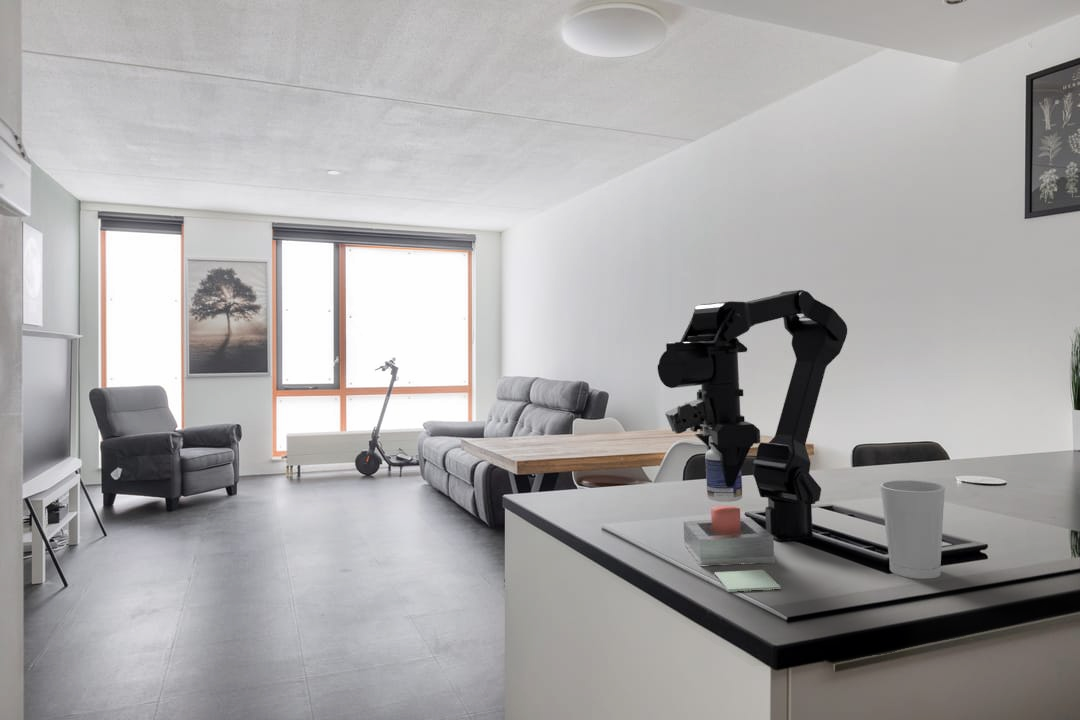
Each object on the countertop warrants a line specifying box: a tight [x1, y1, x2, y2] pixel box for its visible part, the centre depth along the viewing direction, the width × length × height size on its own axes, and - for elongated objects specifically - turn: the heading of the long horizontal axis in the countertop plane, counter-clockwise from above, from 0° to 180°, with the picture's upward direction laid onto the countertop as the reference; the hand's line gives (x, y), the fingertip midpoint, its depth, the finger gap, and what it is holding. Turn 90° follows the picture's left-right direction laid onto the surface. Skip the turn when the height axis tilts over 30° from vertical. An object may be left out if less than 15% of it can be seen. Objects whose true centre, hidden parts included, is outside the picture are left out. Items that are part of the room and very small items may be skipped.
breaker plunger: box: [710, 505, 741, 534], centre depth 110 cm, size 4×4×3 cm
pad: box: [714, 569, 781, 593], centre depth 97 cm, size 7×7×1 cm
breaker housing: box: [683, 517, 775, 566], centre depth 110 cm, size 11×11×4 cm
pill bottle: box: [704, 436, 743, 503], centre depth 110 cm, size 5×5×10 cm
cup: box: [879, 479, 946, 580], centre depth 98 cm, size 8×8×12 cm
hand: (724, 482), depth 110 cm, fingers closed on pill bottle, 5 cm apart
